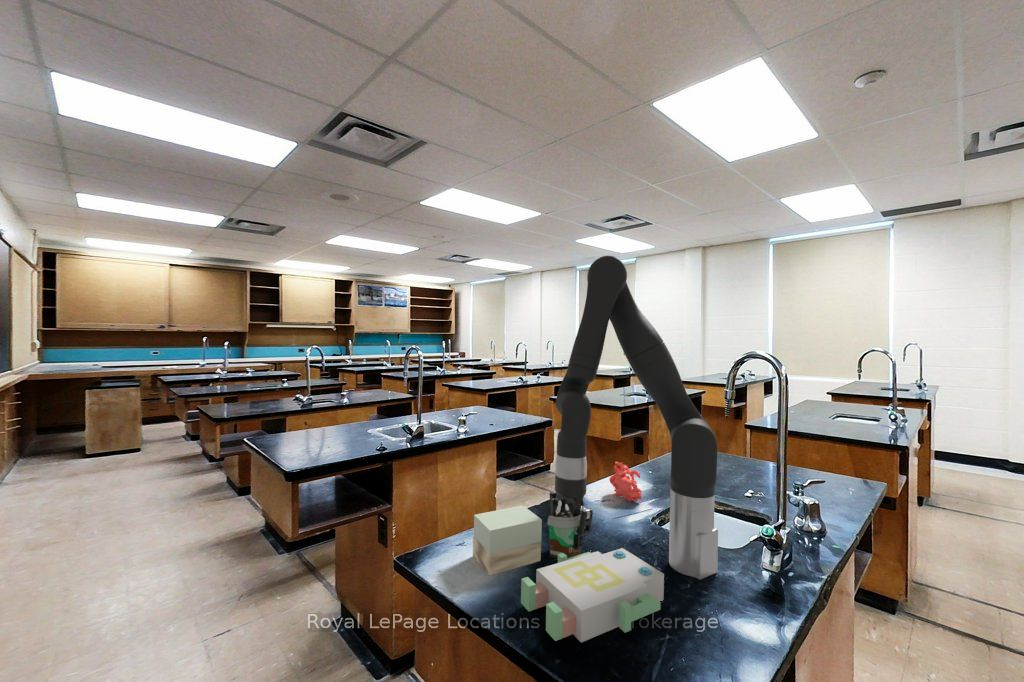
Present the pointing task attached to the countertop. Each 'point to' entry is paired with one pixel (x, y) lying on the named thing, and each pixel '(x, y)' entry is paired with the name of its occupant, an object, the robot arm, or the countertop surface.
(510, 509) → the tower top block
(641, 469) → the countertop surface
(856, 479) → the countertop surface
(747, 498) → the countertop surface
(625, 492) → the anatomical heart
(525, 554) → the tower base block
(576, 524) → the food container
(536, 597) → the decorative block
